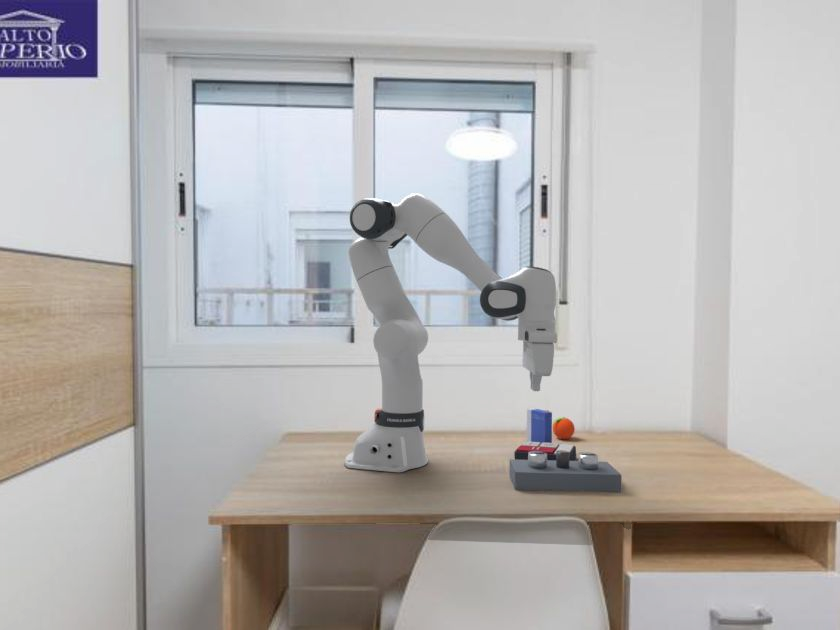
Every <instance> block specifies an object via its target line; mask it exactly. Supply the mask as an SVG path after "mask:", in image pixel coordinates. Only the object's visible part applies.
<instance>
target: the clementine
mask: <svg viewBox="0 0 840 630" xmlns="http://www.w3.org/2000/svg"><path fill="white" fill-rule="evenodd" d="M575 429H576V428H575V424H574V422H573V421H572V420H571V419H569V418H568V417H564V416H563V417H558V418H556V419H555V420H554V421H553V422H552V433H554V435H555V436H556V437H557V438H559V439H560V438H561V440H568V439H570V438H571V437H573V435H574V434H575Z"/></svg>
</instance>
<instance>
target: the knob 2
mask: <svg viewBox="0 0 840 630" xmlns="http://www.w3.org/2000/svg"><path fill="white" fill-rule="evenodd" d="M578 461H579V468H581V469H584V470H597V469H598V461H599V454H597V453H593V452H587V451H585V452H582V451H581V452H579V453H578Z"/></svg>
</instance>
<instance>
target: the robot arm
mask: <svg viewBox="0 0 840 630" xmlns="http://www.w3.org/2000/svg"><path fill="white" fill-rule="evenodd" d="M349 225H350V226H351V229H352V230H353V231H354V232H355V233H356V235H358V236H359V238H357V239H356V240H355V241H353V242H352V243H351V245H350V246H349V248H348V256H349V257H348V258H349V262H350V266H351V270H352V273H353V275H354V278H355V281H356V283H357V285H358V289H359V290H360V293H361V295H362V298H363V300H364V302H365V305H366V308H368V309H367V310H369V312H371V314H372V316H374V318H375V319H376V321H377V322H378V324H379V327H378V328H377V330H376V331H375V333H374V335H373V341H372V342H373V347H374V350H375V351H376V354H377V358H378V359H377V360H378V364H379V365H378V366H379V369H380V370H379V371H380V375H381V388H382V389H381V408H380V407H378V408H376V409H375V410H374V424H372V425H371V426H370V427H368V428H367V429H366V430H364V431H363V432H362V433H360V435H358V437H357V438H356V439H355V443H354V445H353V451H352V452H350V453H348V454H347V455H346V456H345V458H344V466H345V467H346V468H347V469H356V470H368V471H379V472H389V473H403V472H406V471H408V470H412V469H417V468H421V467H423V466H425V465H427V464H428V462H429V460H428V456H427V452H426V447H425V439H424V431H425V410H424V409H423V394H424V393H423V379H422V376H421V375H422V374H421V370H420V365H419V364H420V363H419V355H420V354H421V353H423V351H424V350H426V347H427V345H428V342H429V334H428V330H427V328H426V327H425V326H424V324H423V322H422V320H421V319H420V317H419V315H418V313H417V311H416V309H415V308H414V306H413V304H412V303H411V301H410V299H409V297H408V296H407V294H406V292H405V290H404V287H403V285H402V282H401V280H400V279H399V276H398V273H397V272H396V270H395V267H394V265H393V263H392V261H391V258H390V254H389V249H391V250H392V249H395V248H396V247H397V245H399V243H400V242H402V241H403V240H404V239H405V238H406V237H407V236H408V237H410V238H411V240H413V242H414V243H415V244H416V245H417V246H418V247H419V248H420V249H421V250H422V251H423V252H425V253H426V255H428V256H430V257H431V258H433V259H434V260H436V261H437V262H439V263H442V264H443V265H447V266H448V267H451V268H452V269H455V270H457V271H458V272H460V273H461V274H462V275H463V276H465V277H466V278H467V279H468V280H469V281H470V282H471V283H472V284H473V285H474V286H475V287H476V288H477V289H478V290H479V291H481V293H480V295H479V304H480V307H481V310H482V311H483V312H484V313H485V314H486V315H487V316H489V317H490V318H493V319H497V320H503V321H507V322H508V321H514V320H517V319H518V322H517V324H518V325H517V329H518V330H517V340H518V341H522V361H521V363H522V367H523V368H525V369H526V370H527V371H529V379H530V381H529V382H530V389H531V390H532V391H533V392H540V391H541V382H542V379H543V377H550V376H551V375H552V373H553V365H554V358H555V344H556V343H558V333H557V332H556V329H557V328H556V323H557V322H556V317H555V309H556V305H557V287H556V277H555V275H554V274H553V273H552V272H551V271H550V270H549V269H546V268H543V267H538V266H523V267H522V268H521V269H520V270H519V271H517V272H515V273H514V274H513V273H512V275H509V276H507V277H504V278H502V277H501V276H500V275H499V274H497V273H496V271H494V269H492V268H491V267H490V266H489V264H488V263H486V262H485V260H483V259H482V258H481V257H480V256H479V254H478V253H477V252H476V251H475V249H474V248H473V247H472V244H470V242H469V241H468V239H467V238H466V236H465V235H464V234H463V232H462V230H461V229H460V228H459V226H458V225H457V223H456V222H455V221H454V220H453V219H452V218H451V217H450V216H449V214H447V213H446V212H445V211H444V210H443V209H442V208H441V207H439V206H438V204H436V203H435V202H434V201H432V200H431V199H429V198H428V197H427V196H424V195H423V194H420V193H411V194H409V195H407V196H405V197H404V198H403V199H402V200H401V202H399V203H398V204H395V203H393V202H391V201H390V200H389V201H388V200H383V199H380V198H375V197H374V198H373V197H371V198H369V197H368V198H363V199H360V200H359V201H357V202H356V203H355V204H354V205H353V206H352V208H351V209H350V214H349Z"/></svg>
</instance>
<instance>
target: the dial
mask: <svg viewBox="0 0 840 630" xmlns="http://www.w3.org/2000/svg"><path fill="white" fill-rule="evenodd" d="M556 467H558V468H562V469H568V468H569V451H562V450H559V451H556Z"/></svg>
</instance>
